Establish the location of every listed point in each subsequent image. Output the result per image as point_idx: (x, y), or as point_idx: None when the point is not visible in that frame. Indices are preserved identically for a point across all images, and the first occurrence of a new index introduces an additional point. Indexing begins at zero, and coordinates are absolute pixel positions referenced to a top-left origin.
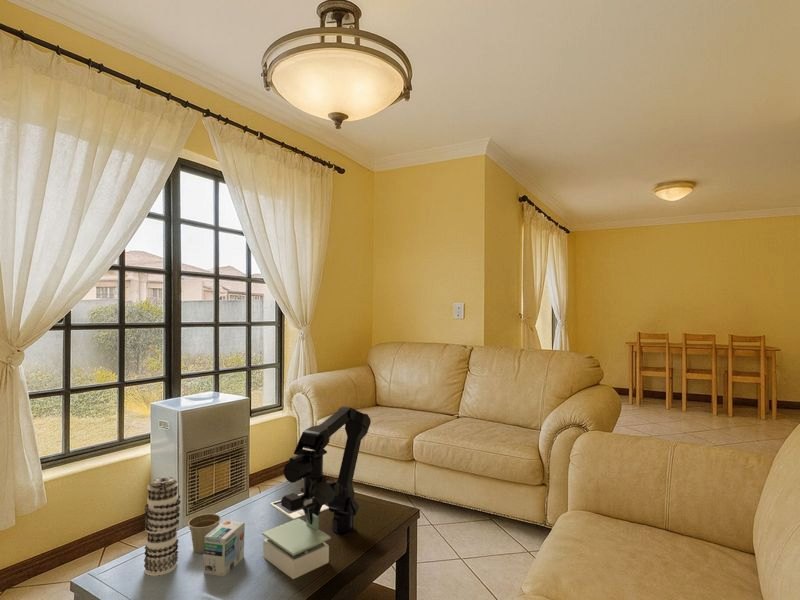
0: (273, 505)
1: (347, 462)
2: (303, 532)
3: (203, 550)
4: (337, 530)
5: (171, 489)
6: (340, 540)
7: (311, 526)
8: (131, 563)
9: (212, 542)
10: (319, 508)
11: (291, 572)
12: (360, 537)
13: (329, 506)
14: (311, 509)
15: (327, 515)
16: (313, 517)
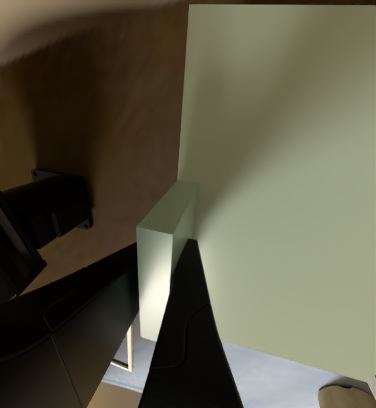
0: (131, 365)
1: None
2: (260, 233)
3: (373, 402)
4: (79, 199)
5: None
6: (97, 167)
7: (191, 233)
8: None
9: None
10: (54, 299)
11: None
12: (41, 129)
13: (23, 276)
14: (177, 385)
15: (66, 272)
16: (173, 261)
